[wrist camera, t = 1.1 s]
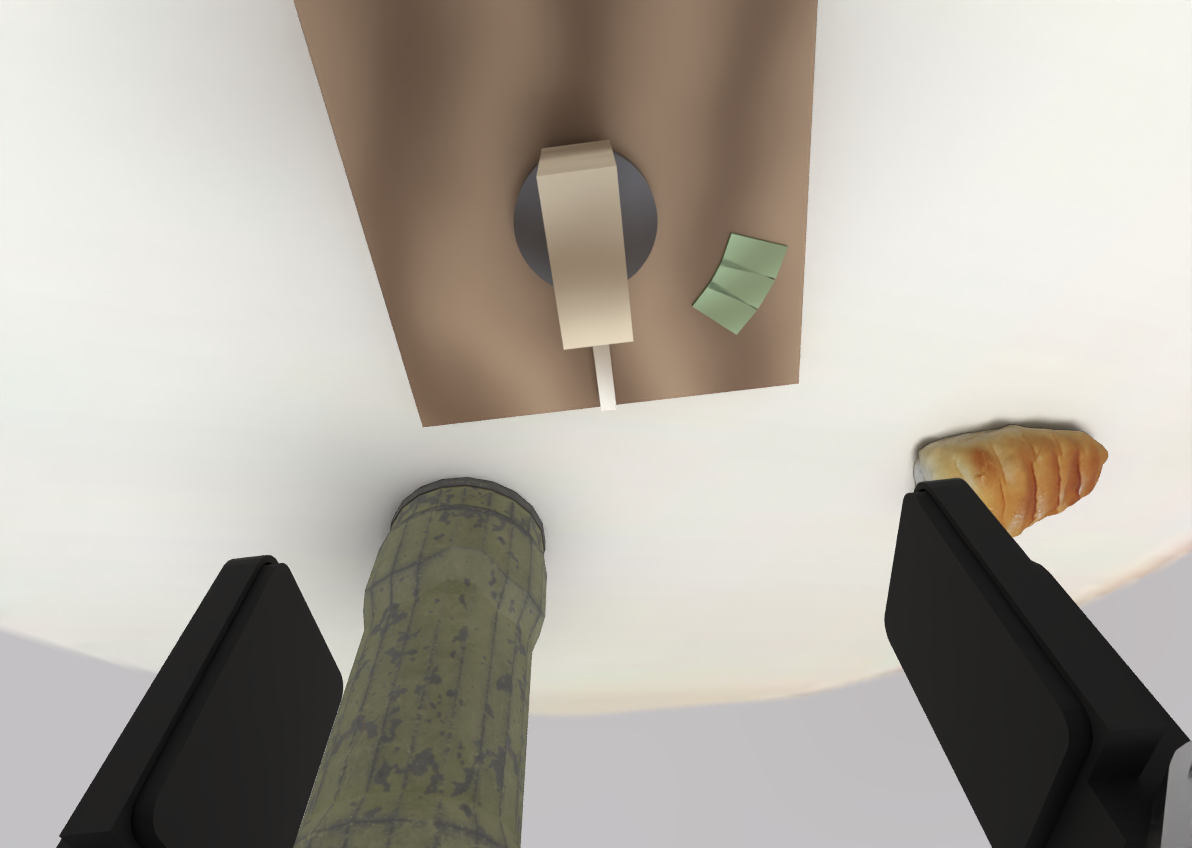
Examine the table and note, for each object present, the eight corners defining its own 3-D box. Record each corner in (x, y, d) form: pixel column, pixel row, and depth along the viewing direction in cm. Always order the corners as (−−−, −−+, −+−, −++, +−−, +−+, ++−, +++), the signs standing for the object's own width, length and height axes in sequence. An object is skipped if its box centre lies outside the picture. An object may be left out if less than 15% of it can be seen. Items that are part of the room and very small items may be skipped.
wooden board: (808, -88, 24) (823, -93, 22) (789, 368, 33) (799, 385, 32) (303, -16, 24) (286, -16, 23) (428, 410, 34) (422, 429, 32)
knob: (502, 148, 26) (487, 182, 21) (649, 129, 26) (666, 159, 21) (548, 406, 32) (544, 477, 27) (667, 392, 32) (684, 461, 27)
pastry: (1090, 392, 35) (1143, 433, 32) (1079, 490, 38) (1126, 537, 35) (905, 439, 36) (938, 484, 33) (910, 531, 40) (941, 579, 36)
